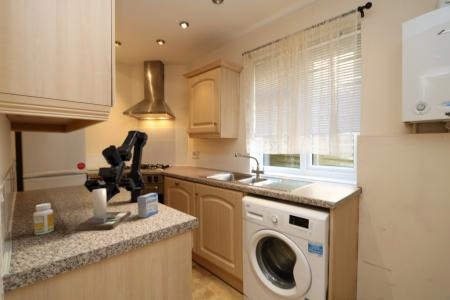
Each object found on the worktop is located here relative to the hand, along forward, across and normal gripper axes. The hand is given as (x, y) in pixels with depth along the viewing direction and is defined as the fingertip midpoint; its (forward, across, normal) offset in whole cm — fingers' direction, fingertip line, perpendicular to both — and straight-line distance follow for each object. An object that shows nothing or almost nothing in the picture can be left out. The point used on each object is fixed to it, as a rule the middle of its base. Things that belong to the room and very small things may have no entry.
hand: (103, 203), depth 83 cm
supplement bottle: (+10, -17, +1) cm, 20 cm away
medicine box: (0, +14, +12) cm, 18 cm away
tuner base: (+4, 0, +6) cm, 8 cm away
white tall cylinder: (+6, +1, +3) cm, 7 cm away
